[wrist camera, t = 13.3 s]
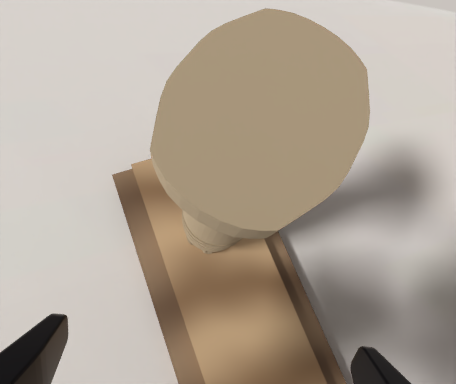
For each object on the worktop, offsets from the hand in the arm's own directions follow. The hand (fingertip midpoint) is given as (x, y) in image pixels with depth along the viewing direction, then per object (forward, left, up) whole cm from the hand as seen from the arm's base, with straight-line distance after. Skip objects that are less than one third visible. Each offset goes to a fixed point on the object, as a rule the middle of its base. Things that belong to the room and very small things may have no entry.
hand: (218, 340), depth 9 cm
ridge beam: (+1, -3, -12) cm, 13 cm away
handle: (+5, -3, -11) cm, 12 cm away
